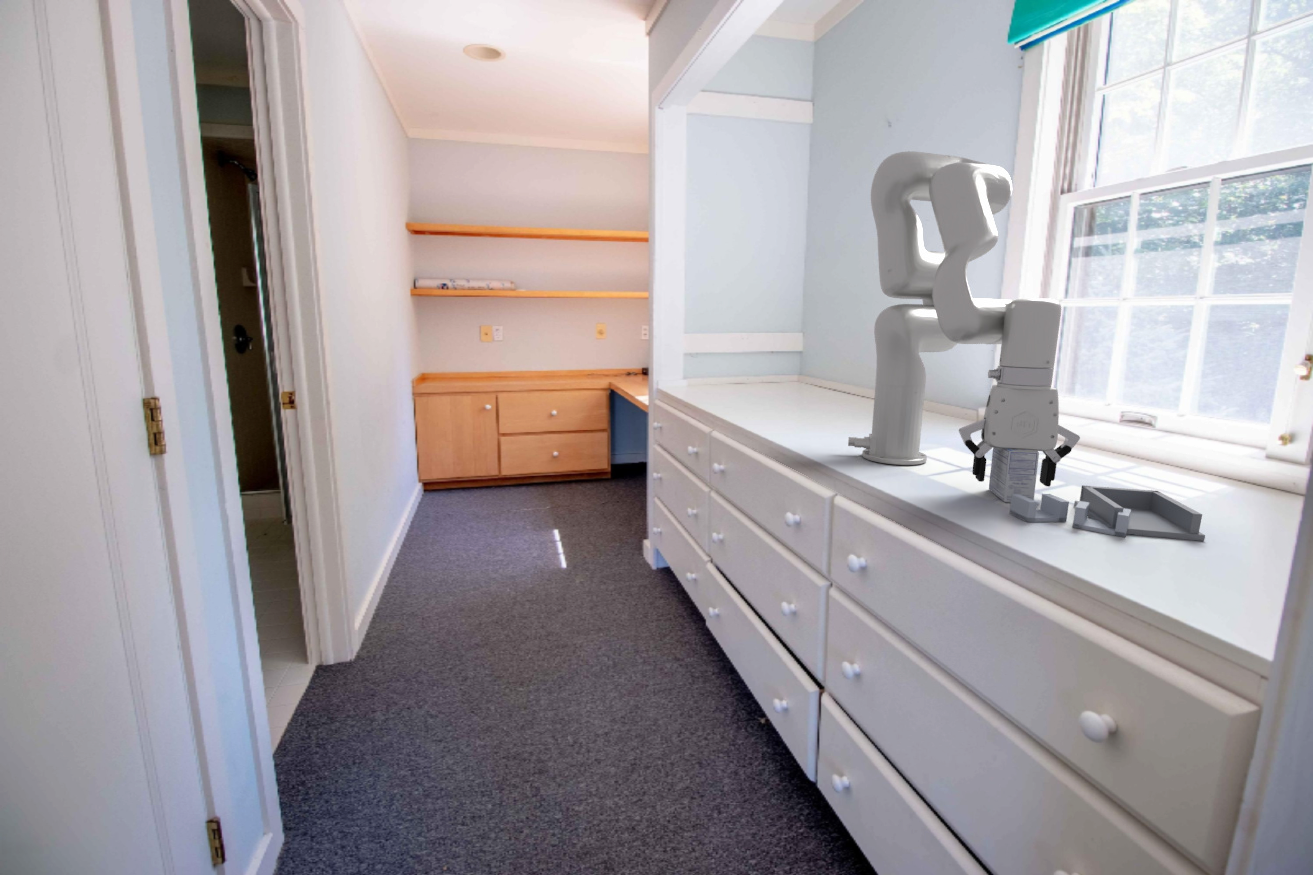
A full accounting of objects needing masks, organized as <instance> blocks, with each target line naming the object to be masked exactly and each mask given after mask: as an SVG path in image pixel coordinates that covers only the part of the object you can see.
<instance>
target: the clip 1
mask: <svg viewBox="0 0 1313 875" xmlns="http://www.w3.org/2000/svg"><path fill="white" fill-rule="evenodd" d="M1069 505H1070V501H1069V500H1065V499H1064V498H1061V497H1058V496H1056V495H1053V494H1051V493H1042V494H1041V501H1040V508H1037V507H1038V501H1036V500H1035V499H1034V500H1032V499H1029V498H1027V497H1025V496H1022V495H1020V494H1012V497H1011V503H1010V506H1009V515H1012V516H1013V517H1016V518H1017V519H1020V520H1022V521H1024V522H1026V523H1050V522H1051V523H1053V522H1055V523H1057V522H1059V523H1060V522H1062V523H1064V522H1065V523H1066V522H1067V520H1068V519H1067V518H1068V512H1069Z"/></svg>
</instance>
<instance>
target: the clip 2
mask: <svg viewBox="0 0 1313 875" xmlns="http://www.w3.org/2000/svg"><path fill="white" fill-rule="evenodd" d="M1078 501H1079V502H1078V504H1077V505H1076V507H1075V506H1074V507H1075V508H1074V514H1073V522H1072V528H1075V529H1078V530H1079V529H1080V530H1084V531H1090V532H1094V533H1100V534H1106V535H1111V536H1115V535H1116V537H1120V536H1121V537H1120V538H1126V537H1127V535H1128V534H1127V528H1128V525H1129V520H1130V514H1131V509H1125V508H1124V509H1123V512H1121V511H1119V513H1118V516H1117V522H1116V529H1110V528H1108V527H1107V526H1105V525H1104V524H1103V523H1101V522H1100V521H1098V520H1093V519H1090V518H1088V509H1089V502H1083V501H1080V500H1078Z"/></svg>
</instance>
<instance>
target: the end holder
mask: <svg viewBox="0 0 1313 875" xmlns="http://www.w3.org/2000/svg"><path fill="white" fill-rule="evenodd" d="M1079 501H1083V502H1089V509H1088V516H1087V518H1088V519H1093V520H1098V521H1100V522H1101V523H1103V524H1104V525H1105V526H1107V527H1108V528H1110V529H1116V522H1117V516H1118V513H1119V511H1121V512H1123V509H1124V508H1125V509H1131V514H1130V520H1129V525H1128V528H1127V534H1126V535H1130V534H1135V535H1134V536H1142V535H1143V536H1144V537H1155V538H1156V537H1157V538H1167V539H1176V540H1177V539H1178V540H1187V541H1189V540H1190V541H1200V542H1205V539H1206V535H1205V534H1203V533H1202V532H1200V528H1201V523H1202V517H1203V514H1202V513H1201V512H1198V511H1197V510H1195V509H1192V508H1191V507H1189V506H1188V505H1185V504H1183V503H1182V502H1179V501H1177V500H1176V499H1174V498H1172V497H1170V496H1169V495H1166V494H1164V493H1162V492H1160V491H1159V490H1154V489H1153V490H1152V489H1151V490H1150V489H1137V488H1136V489H1135V488H1122V487H1110V486H1108V487H1107V486H1095V485H1084V484H1083V485H1081V491H1080V496H1079V500H1074V503H1073V507H1076V505H1077V504H1078V502H1079ZM1143 536H1142V537H1143Z"/></svg>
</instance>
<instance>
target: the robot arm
mask: <svg viewBox="0 0 1313 875" xmlns="http://www.w3.org/2000/svg"><path fill="white" fill-rule="evenodd" d="M870 188H871V189H870V206H871V211H872V216H873V218H874V220H873V221H874V223H875V229H876V234H877V252H878V253H877V256H878V274H879V283H880V289H881V292H883V294H884V295H885V296H887V297H889V298H893V299H900V300H901V299H902V300H905V299H906V300H922V304H919V303H917V304H916V303H902V304H900V303H899V304H894V305H890V306H888V307H886V308H884V309H883V310H882V311H881V312H880V313H879V314H878V315H877V318H876V319H875V321H874V330H873V332H874V342H875V351H876V369H875V386H874V387H875V388H874V400H873V410H872V411H873V412H872V413H873V414H872V424H871V425H872V426H871V433H868V434H869V435H868V436H864V437H863V438H861V437H854V436H853V437H852V436H849V437H848V442H847V446H848V447H854V448H863V450H862V452H861V453H862V454H861V456H862V457H863V458H864V459H866V460H868V461H872V462H875V463H880V464H886V465H897V466H900V465H901V466H915V465H922V464H925V463H926V462H927V461H928V457H927V455H926V453H923V452H921V451H920V445H921V438H922V437H921V436H922V424H923V416H924V415H923V414H924V402H925V394H926V381H927V374H926V367H925V365H924V363H923V360H922V358H921V355H920V353H942V352H948V351H949V350H952V349H953V348H955V346H957V345H958V344H959V345H960V344H961V345H1001V347H1000V354H999V363H998V365H997V367H996V368H994V369H989V370H988V373H987V378H988V379H993V380H995V382H996V384H992V386H991V388H990V391H989V395H988V398H987V402H986V404H985V405H986V406H985V410H984V414H983V418H982V419H980V420H977V421H975V422H972V423H970V424H968V425H965V426H962V427H960V428H959V429H958V433H959V436H960V437H961V440H962V442H963V444H964V446H965V447H967V449H968V450H969V451H970V452H971V453H972V454H973V464H972V475H973V476H975V479H976V480H977V481H978V482H981V483H982V482H984V481H985V477H986V475H985V474H986V467H987V458H986V457H985V455H986V454H987V453H988V452H989V451H990V450H993V448H999V449H1027V450H1036V451H1038V452H1042V453H1043V455H1045V457H1044V458H1043V459H1042V460H1041V466H1040V467H1041V468H1040V474H1039V482H1040V483H1041V484H1042V485H1044V486H1045V487H1048V488H1049V487H1051V484H1052V481H1055V478H1056V471H1057V464H1058V463H1060V462H1061V460H1062V459H1063V458H1065V457H1066V456H1067V455H1068V454H1070V453H1071V452H1072V449H1073V448H1075V446H1076V445H1077V444H1078V443H1079V441H1080V439H1081V437H1080V435H1079V434H1076V433H1075V432H1073V431H1071V430H1069V429H1068V428H1065V427H1064V426H1062V425H1060V424H1059V420H1060V419H1059V415H1060V413H1059V412H1060V411H1059V410H1060V409H1059V408H1060V407H1059V404H1060V403H1059V392H1058V391H1059V390H1058V388H1056V387H1052V383H1053V377H1054V368H1055V363H1056V362H1055V361H1056V354H1057V353H1056V352H1057V347H1058V338H1059V331H1060V323H1061V315H1062V305H1061V303H1060V302H1059V301H1058V300H1055V299H1051V298H1020V299H1011V298H1010V299H1009V298H1006V299H1004V298H988V297H987V298H984V297H977V298H976V297H974V298H973V296H972V294H971V290H970V286H969V283H968V274H967V273H968V272H967V271H968V264H969V263H970V262H972V261H975V260H976V259H978V258H980V257H982V256H984V255H986V254H987V253H989V252H990V251H991V250H993V248H994V247H995V246H996V245H997V242H998V240H999V234H998V230H997V226H996V224H995V220H994V217H993V215H995V214H998V213H1000V212H1001V211H1002V210H1004V209H1005V207H1006V206H1008V203H1009V201H1010V200H1011V197H1012V193H1013V183H1012V180H1011V177H1010V175H1009V173H1008V171H1006V170H1005V169H1004V168H1003V167H1001V166H999V165H998V166H997V165H994V164H988V163H985V162H980V161H978V160H974V159H969V158H966V157H961V156H956V155H950V154H949V155H948V154H939V153H933V152H932V153H931V152H924V151H900V152H895V153H893V154H891V155H889V156H887V157H886V158H885V159H883V160H882V161H881V163H879V166H878V167H877V169H876V171H875V174H874V176H873V179H872V182H871V187H870ZM911 201H922V202H930V203H931V206H932V210H933V213H934V217H935V221H936V225H937V229H938V233H939V237H940V240H941V244H942V248H943V252H941V251H932V250H930V251H929V250H926V248H925V245H924V235H923V234H924V232H923V231H924V230H923V226H922V221H921V219H920V218H919V215H918V213H917V212H916V210H915V209H914V207H913V206H912V205H911ZM978 431H981V433H980V434H981V436H980V438H981V440H980V442H979V443H977V444H976V443H975V442H974V441H973V440H972V437H971V436H972V434H973V433H976V432H978ZM1058 435H1060V436H1062V437H1064V440H1063V443H1062V444H1061V445H1059V446H1057V444H1058V443H1057V442H1058Z"/></svg>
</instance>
